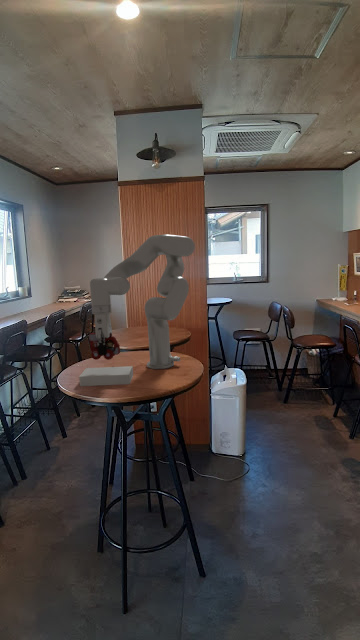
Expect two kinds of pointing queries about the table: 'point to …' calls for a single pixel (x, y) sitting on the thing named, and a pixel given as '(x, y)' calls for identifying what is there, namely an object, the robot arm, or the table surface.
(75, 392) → the table surface
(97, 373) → the block
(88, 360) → the table surface
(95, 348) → the toy fire truck
